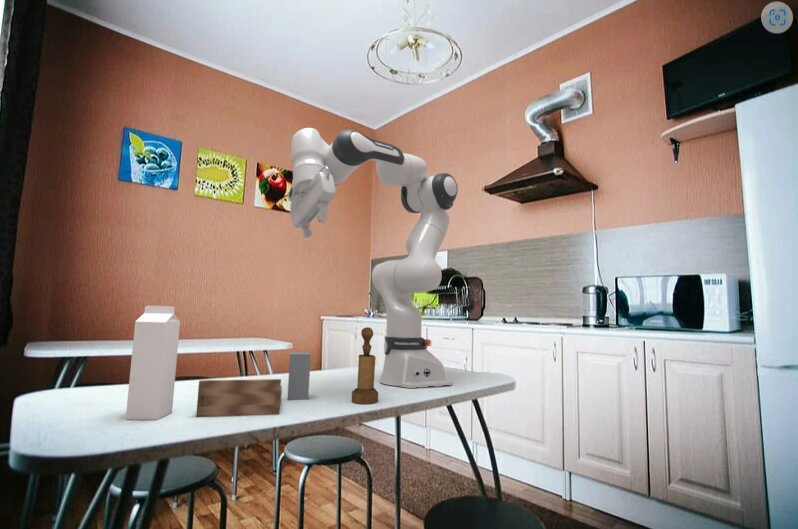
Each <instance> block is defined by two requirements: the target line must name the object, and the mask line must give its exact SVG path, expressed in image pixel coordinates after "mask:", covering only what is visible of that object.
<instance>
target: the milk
mask: <svg viewBox="0 0 798 529" xmlns="http://www.w3.org/2000/svg"><path fill="white" fill-rule="evenodd" d="M175 308H176V307H175V306H172V305H146V306H145V307H144V313H142V314H141V315H140V316H139V317H138V318H137V319H136V320H135V321H134V322H135V323H134V331H133V333H134V334H133V341H132V342H133V343H132V350H131V361H130V362H131V363H130V371H129V372H130V373H129V382H128V392H127V402H126V412H125V413H126V414H125V420H127V421H131V420H132V421H135V420H136V421H140V420H142V421H157V420H160V419H162V418H164V417H165V416H166V417H167V415H170V414H172V413H173V406H174V396H175V395H174V394H175V384H176V382H175V381H176V373H177V372H176V371H177V362H178V361H177V360H178V349H179V339H180V338H179V336H180V326H181V325H180V324H181V321H180V319H179V318H178V316H176V314H175Z"/></svg>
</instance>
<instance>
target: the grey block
mask: <svg viewBox="0 0 798 529" xmlns="http://www.w3.org/2000/svg"><path fill="white" fill-rule="evenodd" d="M311 354H312V353H311V352H310V351H296V352H295V351H290V352H289V366H288V383H287V384H288V385H287V401H302V400H303V401H306V400H307V401H308V400H309V392H310V374H311V356H312V355H311Z"/></svg>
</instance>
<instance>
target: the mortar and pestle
mask: <svg viewBox="0 0 798 529" xmlns="http://www.w3.org/2000/svg"><path fill="white" fill-rule="evenodd" d="M360 333H361V337H362V339H363V345H362V352H363V354H359V355H358V365H357V366H358V367H357V368H358V369H357V371H358V372H357V385H356V386H357V387H356V388H354V389H353V390H352V391H351V402H352V403H355V404H360V405H373V404H375V403H376V404H377V403H378V402H379V391H378V390H377V389H376V388H375V387H374V388H373V378H374V379H375V375H374V356H375V355H374V354H371V350H372V345H371V343H370V342H371V341H372V338H373V336H374V330H373V328H371V327H364V328H362V330H361V332H360Z"/></svg>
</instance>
